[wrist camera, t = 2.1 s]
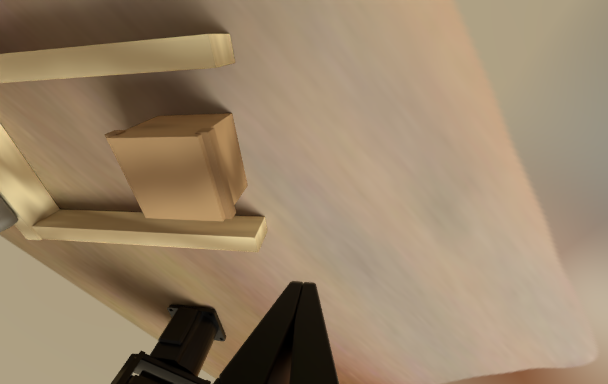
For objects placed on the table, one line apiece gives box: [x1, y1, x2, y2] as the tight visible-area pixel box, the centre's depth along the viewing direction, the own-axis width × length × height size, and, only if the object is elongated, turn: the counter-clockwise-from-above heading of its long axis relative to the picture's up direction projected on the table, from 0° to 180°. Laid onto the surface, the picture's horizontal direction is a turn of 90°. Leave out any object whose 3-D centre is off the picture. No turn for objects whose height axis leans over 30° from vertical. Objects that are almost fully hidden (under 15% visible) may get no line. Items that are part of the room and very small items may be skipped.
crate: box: [105, 113, 248, 221], centre depth 18 cm, size 6×7×5 cm
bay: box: [0, 34, 267, 252], centre depth 19 cm, size 16×25×7 cm, turn 94°
